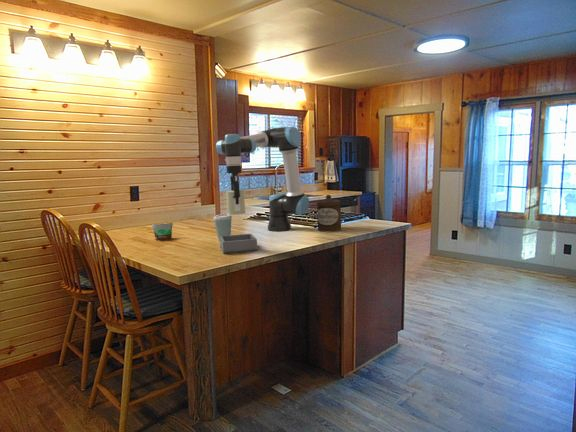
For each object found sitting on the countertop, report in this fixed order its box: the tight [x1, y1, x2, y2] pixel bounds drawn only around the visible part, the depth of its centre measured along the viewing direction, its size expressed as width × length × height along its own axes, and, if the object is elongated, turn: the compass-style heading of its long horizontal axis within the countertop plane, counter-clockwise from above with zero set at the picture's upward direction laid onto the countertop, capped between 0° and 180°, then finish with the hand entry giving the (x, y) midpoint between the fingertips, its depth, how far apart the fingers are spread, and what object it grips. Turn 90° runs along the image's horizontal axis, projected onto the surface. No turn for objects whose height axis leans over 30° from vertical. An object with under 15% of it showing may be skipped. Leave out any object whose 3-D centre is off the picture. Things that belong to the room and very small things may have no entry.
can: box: [225, 189, 246, 216], centre depth 210 cm, size 9×9×12 cm
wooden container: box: [316, 194, 342, 232], centre depth 259 cm, size 15×15×22 cm
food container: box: [151, 221, 174, 241], centre depth 246 cm, size 12×6×10 cm, turn 112°
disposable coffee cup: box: [212, 213, 233, 242], centre depth 236 cm, size 11×11×15 cm
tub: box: [219, 233, 258, 255], centre depth 213 cm, size 17×17×6 cm
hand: (236, 209), depth 211 cm, fingers closed on can, 9 cm apart
